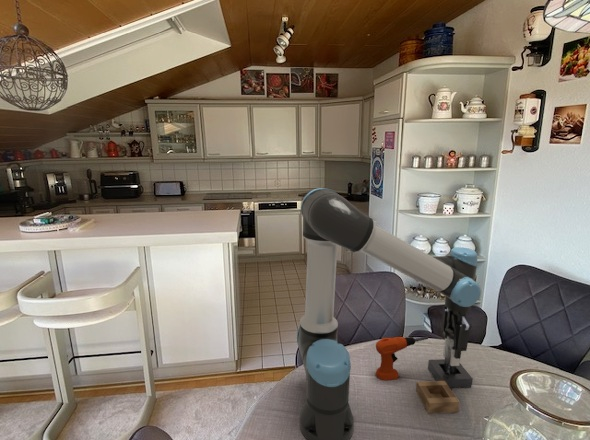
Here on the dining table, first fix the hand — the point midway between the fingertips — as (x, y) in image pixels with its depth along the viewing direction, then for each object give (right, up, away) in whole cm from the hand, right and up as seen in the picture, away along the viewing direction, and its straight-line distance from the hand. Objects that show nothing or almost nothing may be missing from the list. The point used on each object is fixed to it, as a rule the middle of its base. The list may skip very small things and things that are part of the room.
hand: (450, 360), depth 113 cm
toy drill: (-16, -6, +3) cm, 18 cm away
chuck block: (0, -6, +2) cm, 7 cm away
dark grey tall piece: (0, -4, +1) cm, 4 cm away
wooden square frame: (-9, -9, -9) cm, 15 cm away
